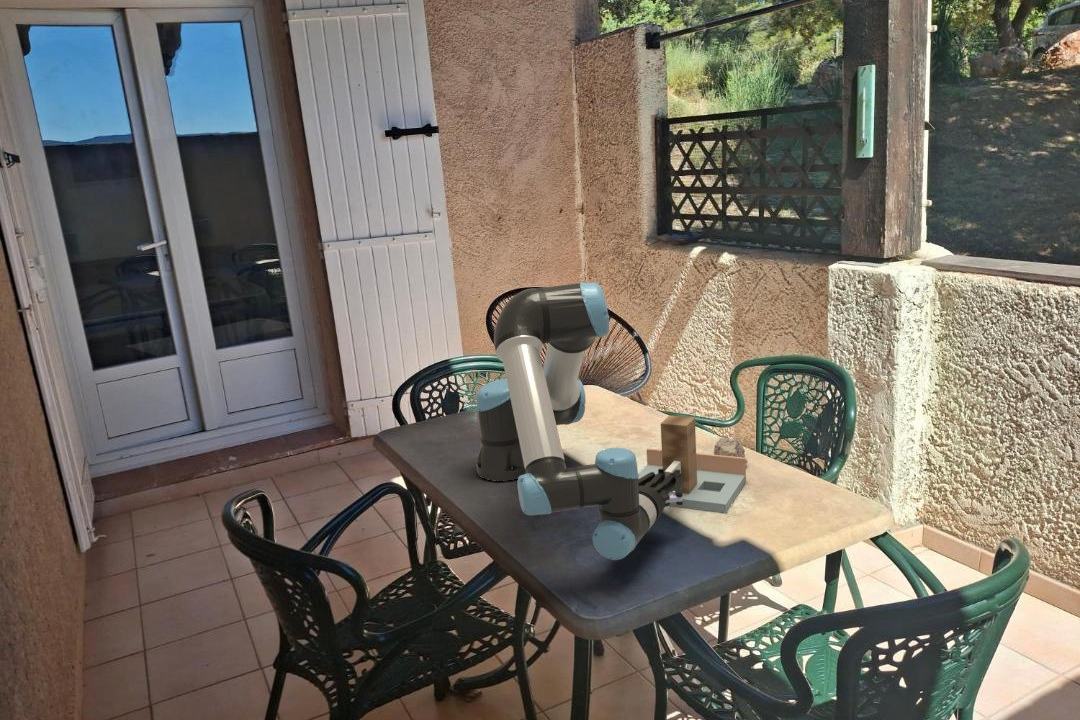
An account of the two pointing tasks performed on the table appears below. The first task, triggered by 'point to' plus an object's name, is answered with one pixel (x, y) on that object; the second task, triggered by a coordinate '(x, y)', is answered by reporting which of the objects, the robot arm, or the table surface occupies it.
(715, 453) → the mineral specimen
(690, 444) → the walnut block
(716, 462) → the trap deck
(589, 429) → the table surface
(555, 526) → the table surface
